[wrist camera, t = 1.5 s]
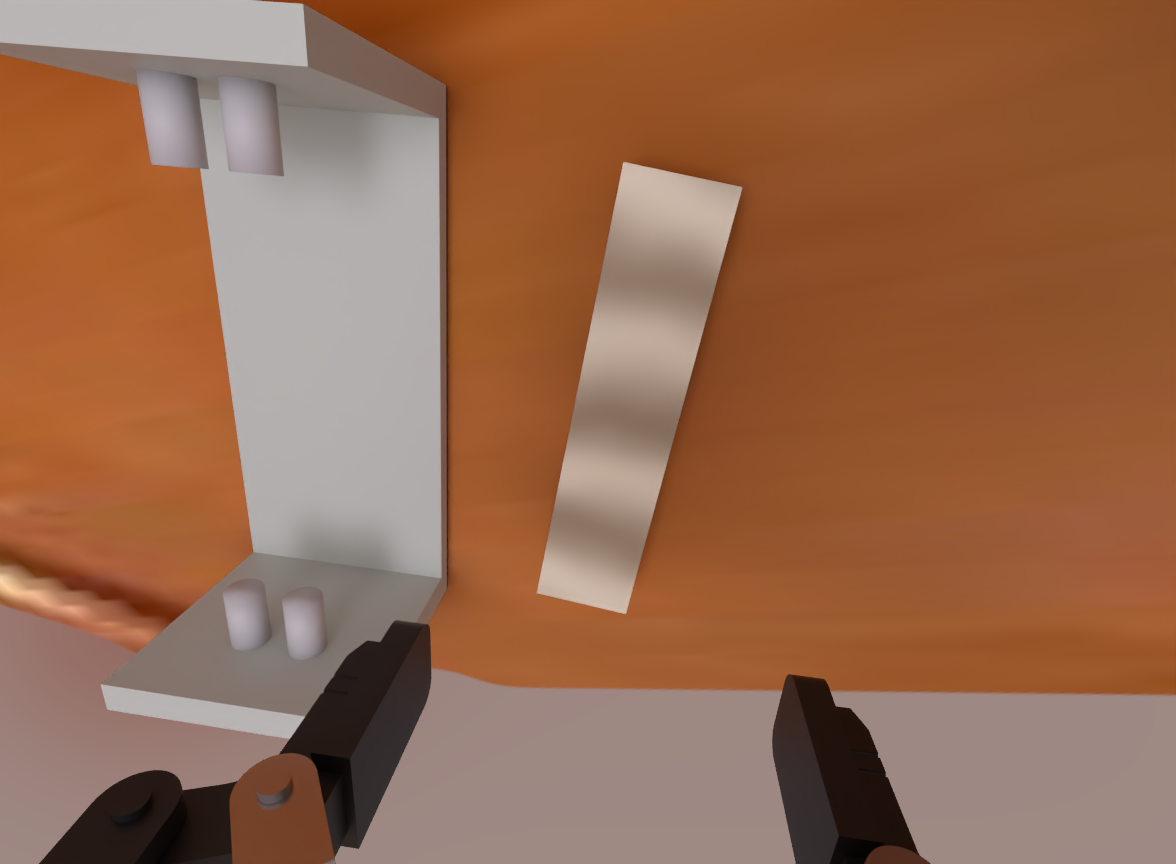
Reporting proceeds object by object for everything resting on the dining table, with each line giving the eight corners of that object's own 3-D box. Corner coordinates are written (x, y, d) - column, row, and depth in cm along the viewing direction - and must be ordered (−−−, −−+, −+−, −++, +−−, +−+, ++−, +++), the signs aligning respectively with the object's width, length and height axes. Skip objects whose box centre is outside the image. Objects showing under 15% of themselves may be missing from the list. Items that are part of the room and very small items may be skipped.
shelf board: (627, 167, 28) (623, 162, 25) (731, 189, 28) (742, 187, 24) (549, 553, 36) (536, 592, 33) (629, 572, 36) (625, 614, 33)
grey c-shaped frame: (200, 65, 28) (-95, -25, 17) (446, 84, 28) (303, 4, 16) (266, 563, 39) (107, 709, 27) (446, 588, 38) (358, 749, 27)
